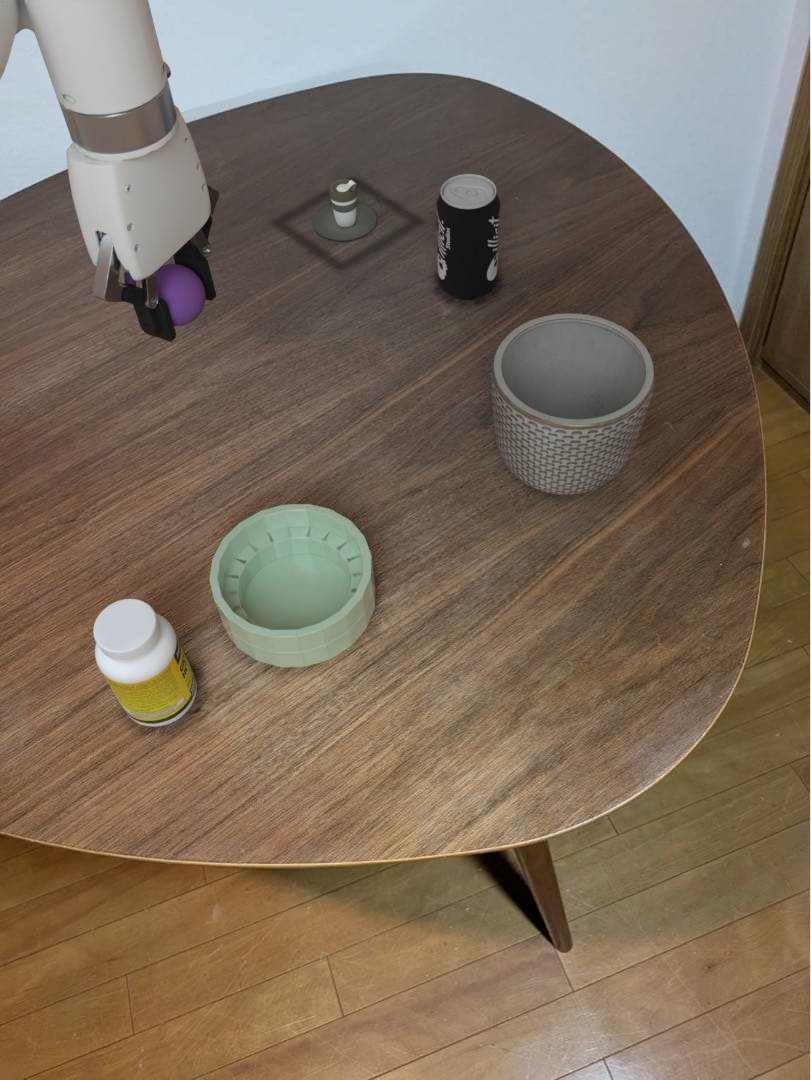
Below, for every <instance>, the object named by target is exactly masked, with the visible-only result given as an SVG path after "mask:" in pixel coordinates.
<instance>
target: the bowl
mask: <svg viewBox="0 0 811 1080" xmlns="http://www.w3.org/2000/svg"><path fill="white" fill-rule="evenodd" d="M374 572H375V571H374V564H373V556H372V553H371V550H370V547H369V545H368V542H367V539H366V536H365V535H364V534H363V533H362V532H361V530H360V529H359V528H358V527H357V526H356V525H355V523H353V521H352V520H350V519H349V518H347V517H345V516H344V515H342V514H340V513H338V512H337V511H335V510H333V509H331V508H328V507H323V506H319V505H314V504H312V503H292V504H291V503H290V504H289V503H288V504H280V505H276V506H273V507H270V508H265V509H262V510H259V511H258V512H256V513H254V514H252V515H251V516H249V517H247V518H246V519H244V520H242V521H240V522H238V523H237V525H235V527H234V528H233V529H232V530H231V531H229V532H228V533H227V534H226V535H225V536H224V537H223V539H222V540H221V541H220V544H219V546H218V547H217V549H216V551H215V553H214V555H213V557H212V559H211V565H210V572H209V577H208V578H209V584H210V589H211V592H212V593H211V594H212V597H213V601H214V603H215V606H216V609H217V612H218V614H219V617H220V620H221V622H222V626H223V628H224V630H225V632H226V634H227V635H228V636H229V638H230V639H231V641H232V642H233V643H234V645H235V646H236V648H238V649H239V650H240V651H242V652H243V653H244V654H246V655H247V656H248V657H251V658H252V659H253V660H255V661H257V662H260V663H264V664H267V665H271V666H274V667H278V668H306V667H309V666H313V665H317V664H320V663H323V662H326V661H330V660H332V659H333V658H334V657H337V656H338V655H340V654H341V653H343V652H344V651H346V650H347V649H349V648H350V647H352V646H353V645H354V643H355V642H356V641H357V640H358V639H359V638H360V637H361V636H362V634H363V633H364V632H365V631H366V630H367V628H368V626H369V624H370V621H371V619H372V616H373V614H374V611H375V609H376V608H375V607H376V590H377V589H376V581H375V573H374Z"/></svg>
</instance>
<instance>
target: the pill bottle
mask: <svg viewBox="0 0 811 1080" xmlns="http://www.w3.org/2000/svg"><path fill="white" fill-rule="evenodd" d="M92 632H93V638H94V641H95V645H94V646H95V647H94V656H95V662H96V664H97V667H98V669H99V671H100V672H101V674H102V676H103V677H104V679H105V680H106V682H107V684H108V685H109V687H110V688H111V690H112V692H113V694H114V695H115V697H116V699H117V701H118V702H119V704H120V706H121V707H122V709H123V710H124V712H125V713H126V715H127V716H128V717H129V718H130V719H131V720H132V721H134V722H135V723H136V724H139V725H140V726H144V727H153V728H154V727H155V728H156V727H162V726H163V727H164V726H167V725H169V724H172V723H173V722H176V721H177V720H179V719H181V718H182V717H183V716H184V715H186V713H188V711H189V710H190V709H191V707H192V706H193V704H194V702H195V699H196V697H197V696H196V695H197V687H198V685H197V679H196V677H195V674H194V672H193V668H192V666H191V665H190V663H189V660H188V658H187V656H186V654H185V652H184V648H183V647H182V644H181V642H180V640H179V638H178V635H177V632H176V631H175V629H174V627H173V625H172V623H170V622H169V621H168V619H166V618H165V617H163V616H162V615H160V614H158V613H156V612H155V610H154V608H153V607H152V606H151V605H150V604H149V603H147V602H146V601H143V600H141V599H137V598H124V599H120V600H117V601H114V602H112V603H111V604H108V605H107V606H106V607H105V608H104V609H103V610H102V611H100V612H99V614H98V616H97V617H96V619H95V621H94V623H93V630H92Z"/></svg>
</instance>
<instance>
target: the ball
mask: <svg viewBox="0 0 811 1080" xmlns="http://www.w3.org/2000/svg"><path fill="white" fill-rule="evenodd" d="M157 282H158V295H159V298H160V299H163V300H164V301H165V302H166V303H167V306H168V309H169V313H170V316H171V319H172V322H173V326H174V327H182V326H187V325H188V324H190V323H193V322H194V321H196V319H198V318H199V316H200V315H201V314H202V312H203V310H204V308H205V304H206V294H205V288H204V286H203V283H202V281H201V279H200V278H199V277H198V275H197V274H196V273H195V272H194V271H192V270H191V269H189V268H187V267H185V266H183V265H178V264H175V263H168V264H163V265H162V266H161V267H160V268H159V269H158V270H157Z"/></svg>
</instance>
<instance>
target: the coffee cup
mask: <svg viewBox="0 0 811 1080" xmlns="http://www.w3.org/2000/svg"><path fill="white" fill-rule="evenodd" d="M358 194H359V190H358V186H357V183H356V182H355V181H354V180H352V179H347V178H340V179H337V180H335V181H333V182H332V183H331V184H330V185H329V189H328V196H329V198H330V202H331V203H329V204H327V205H325V206H322V207H321V208H320V209H318V210H317V211H316V213H314V216H313V217H312V220H311V222H312V228H313V229H314V231H315V232H316V233H317V234H319V236H321V237H323V238H325V239H328V240H332V241H336V242H337V241H339V242H346V241H353V240H357V239H360V238H362V237H365V236H367V235H368V234H370V233H371V232H372V231H373V230H374V229H375V227H376V224H377V222H378V216H377V213H376V211H375V210H374V209H373V208H372V207H370V206H369V205H367V204H366V203H362V202H360V201H359V200H358Z"/></svg>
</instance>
